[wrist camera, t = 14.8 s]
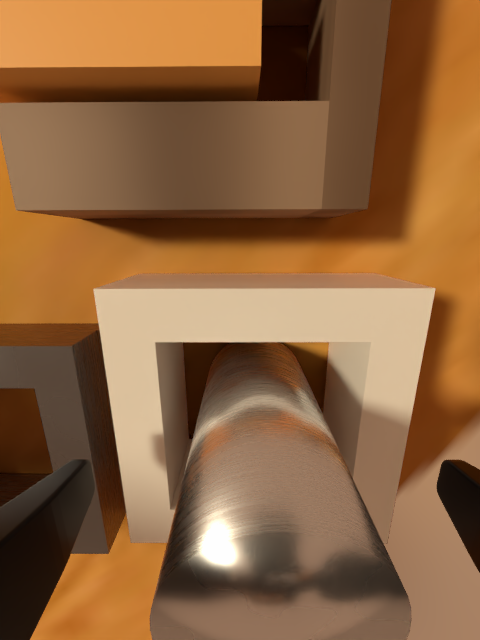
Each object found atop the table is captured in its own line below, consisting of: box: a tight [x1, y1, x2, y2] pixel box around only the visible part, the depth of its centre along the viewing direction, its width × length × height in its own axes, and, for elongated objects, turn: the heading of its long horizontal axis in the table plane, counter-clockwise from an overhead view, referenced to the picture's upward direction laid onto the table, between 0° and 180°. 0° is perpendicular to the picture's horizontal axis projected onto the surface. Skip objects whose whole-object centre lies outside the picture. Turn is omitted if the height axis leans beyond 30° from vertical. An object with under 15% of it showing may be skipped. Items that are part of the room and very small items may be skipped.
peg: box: [150, 342, 411, 640], centre depth 8 cm, size 4×4×8 cm
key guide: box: [0, 0, 391, 219], centre depth 8 cm, size 9×8×3 cm
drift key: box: [0, 0, 262, 103], centre depth 7 cm, size 7×2×4 cm, turn 90°
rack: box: [94, 273, 436, 544], centre depth 10 cm, size 9×9×4 cm
